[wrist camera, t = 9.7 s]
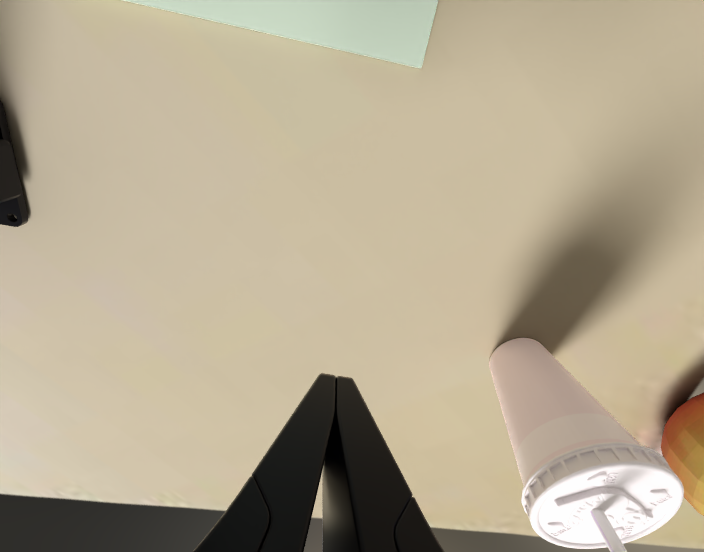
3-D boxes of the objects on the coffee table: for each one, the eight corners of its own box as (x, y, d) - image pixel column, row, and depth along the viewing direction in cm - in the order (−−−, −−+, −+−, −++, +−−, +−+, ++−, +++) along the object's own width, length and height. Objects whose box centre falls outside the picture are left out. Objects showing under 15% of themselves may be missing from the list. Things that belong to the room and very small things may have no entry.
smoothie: (493, 310, 22) (664, 589, 10) (587, 332, 23) (854, 618, 11) (454, 385, 25) (548, 675, 13) (538, 403, 26) (704, 692, 14)
